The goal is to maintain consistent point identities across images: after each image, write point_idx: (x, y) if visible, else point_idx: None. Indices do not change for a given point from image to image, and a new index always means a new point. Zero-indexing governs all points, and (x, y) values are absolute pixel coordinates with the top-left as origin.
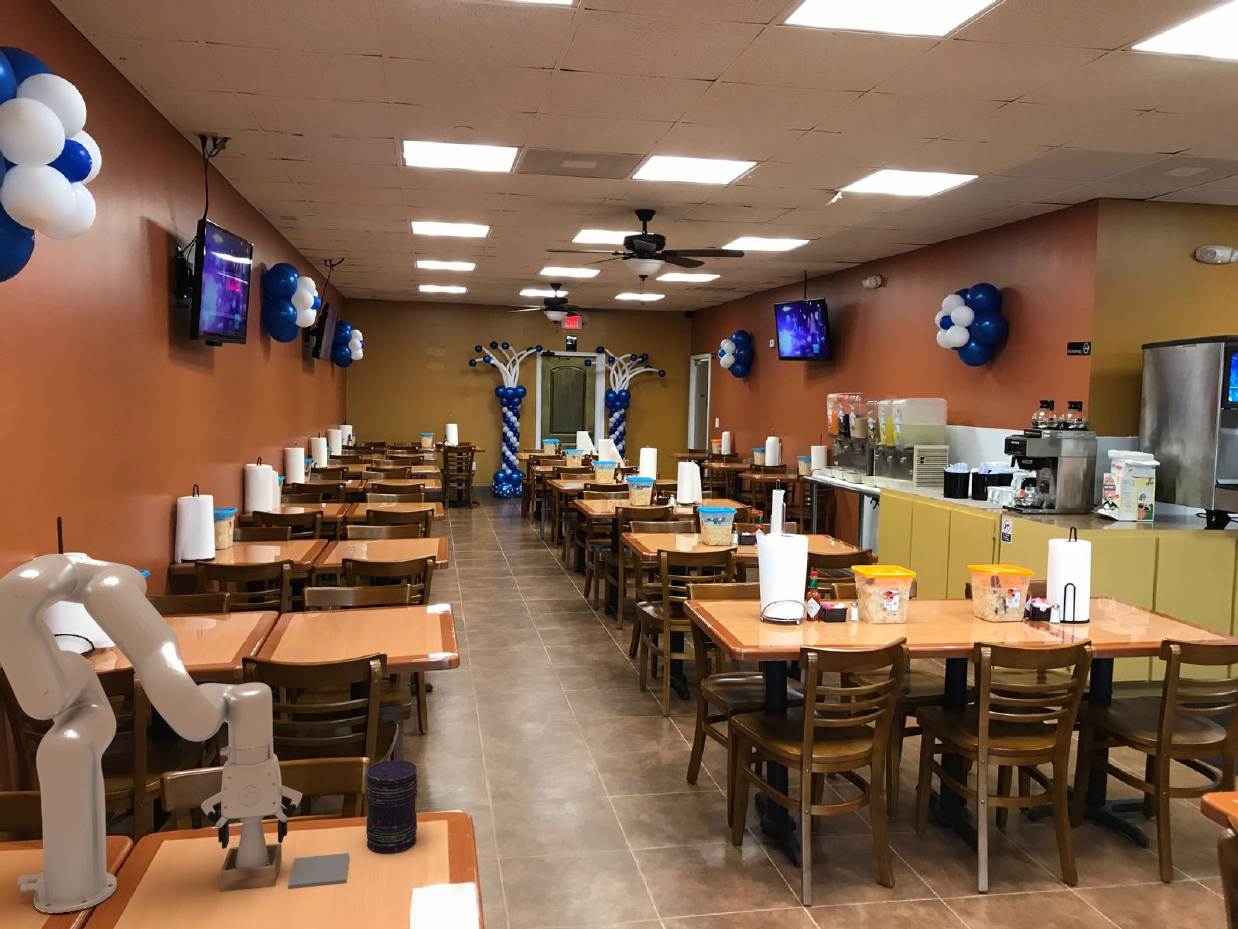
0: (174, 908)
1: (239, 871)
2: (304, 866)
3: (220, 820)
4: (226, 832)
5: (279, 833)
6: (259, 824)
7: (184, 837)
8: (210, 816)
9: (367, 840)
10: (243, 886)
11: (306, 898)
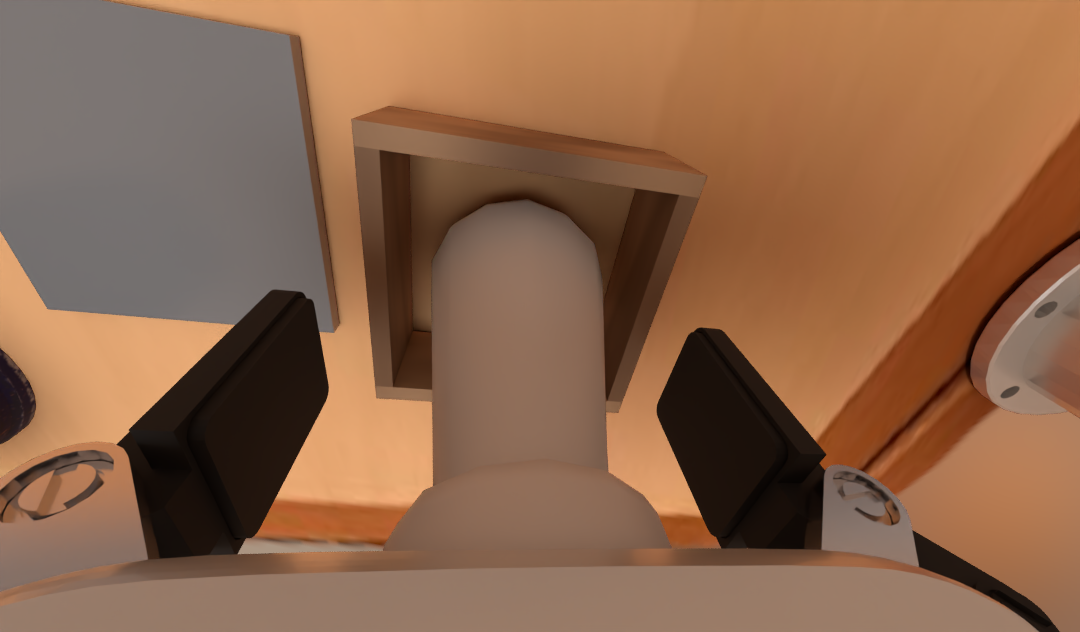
0: (902, 46)
1: (593, 157)
2: (255, 244)
3: (898, 549)
4: (735, 429)
5: (248, 340)
6: (446, 464)
7: (701, 520)
8: (1025, 619)
9: (9, 392)
10: (557, 135)
11: None
